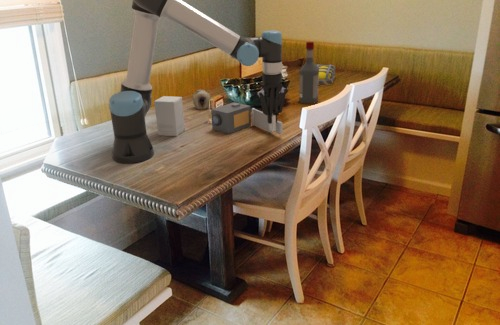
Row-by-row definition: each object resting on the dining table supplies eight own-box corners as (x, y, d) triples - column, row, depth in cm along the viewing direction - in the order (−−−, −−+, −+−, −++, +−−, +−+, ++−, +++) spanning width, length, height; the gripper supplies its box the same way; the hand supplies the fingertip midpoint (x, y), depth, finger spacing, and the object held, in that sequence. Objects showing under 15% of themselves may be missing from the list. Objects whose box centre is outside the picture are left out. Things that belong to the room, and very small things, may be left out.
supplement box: (185, 129, 195) (182, 96, 189) (177, 136, 187) (173, 101, 181) (166, 128, 197) (163, 95, 191) (157, 135, 189) (153, 100, 183)
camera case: (226, 134, 187) (225, 112, 184) (210, 129, 194) (208, 107, 190) (251, 125, 198) (250, 104, 194) (234, 121, 204) (234, 100, 200)
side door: (283, 136, 182) (283, 119, 179) (280, 137, 181) (280, 120, 178) (254, 124, 198) (253, 107, 196) (251, 124, 198) (251, 108, 195)
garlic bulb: (194, 112, 228) (187, 93, 225) (208, 106, 232) (201, 88, 230) (202, 110, 220) (195, 91, 217) (216, 104, 224) (209, 85, 222)
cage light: (336, 63, 285) (333, 73, 258) (335, 75, 288) (332, 86, 261) (313, 62, 288) (307, 72, 261) (312, 75, 291) (307, 86, 264)
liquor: (318, 99, 235) (320, 40, 223) (316, 104, 227) (318, 43, 215) (301, 98, 237) (302, 40, 225) (298, 103, 229) (299, 43, 217)
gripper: (281, 69, 178) (281, 125, 187) (252, 72, 173) (254, 130, 182) (291, 72, 172) (291, 130, 181) (261, 76, 167) (262, 135, 176)
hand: (272, 130), depth 182 cm, fingers closed
